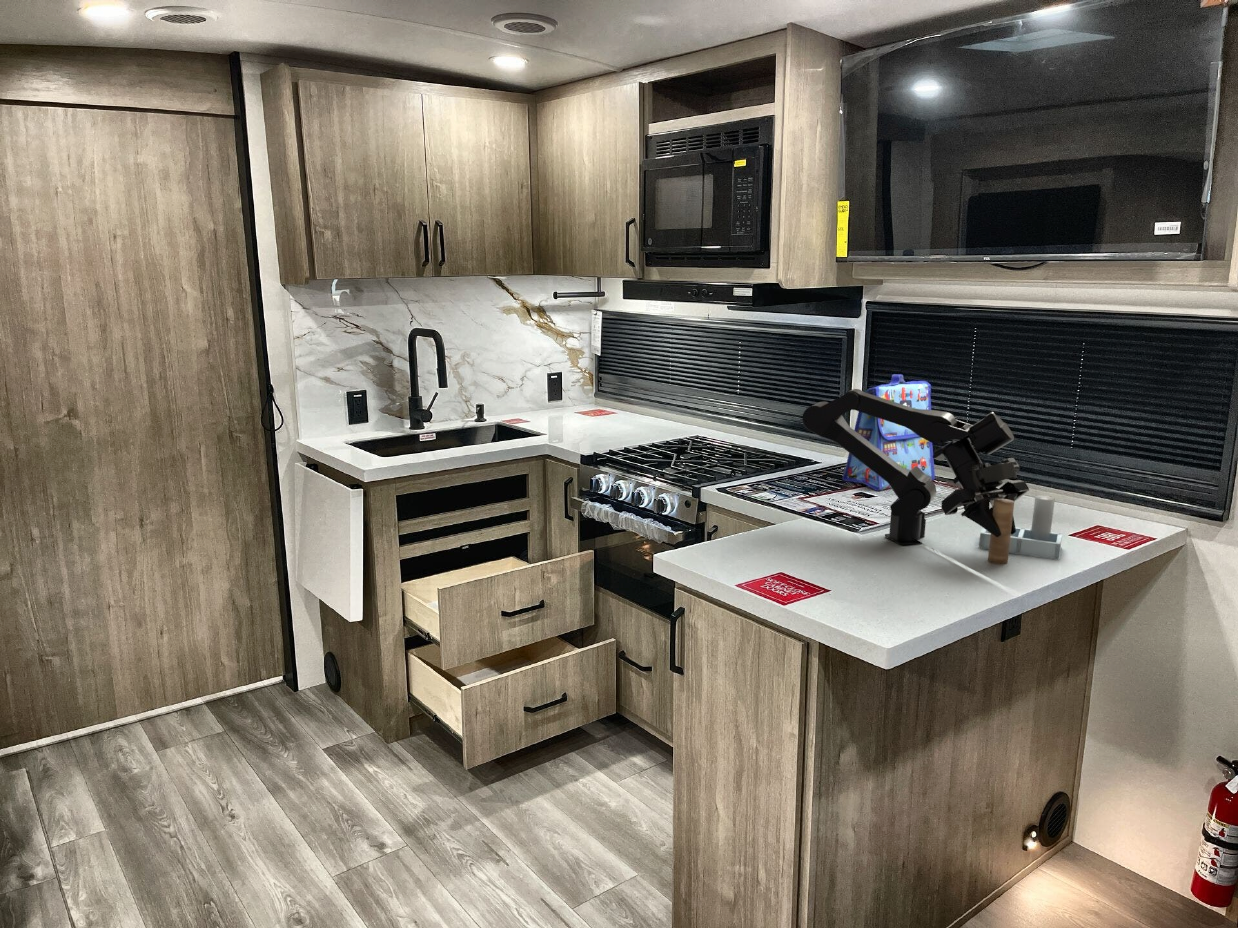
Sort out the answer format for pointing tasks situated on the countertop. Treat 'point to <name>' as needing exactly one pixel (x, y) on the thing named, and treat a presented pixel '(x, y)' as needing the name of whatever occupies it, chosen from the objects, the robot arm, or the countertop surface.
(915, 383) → the lunch bag
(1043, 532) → the grey peg
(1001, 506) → the walnut peg
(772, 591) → the countertop surface
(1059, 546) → the slot rack
